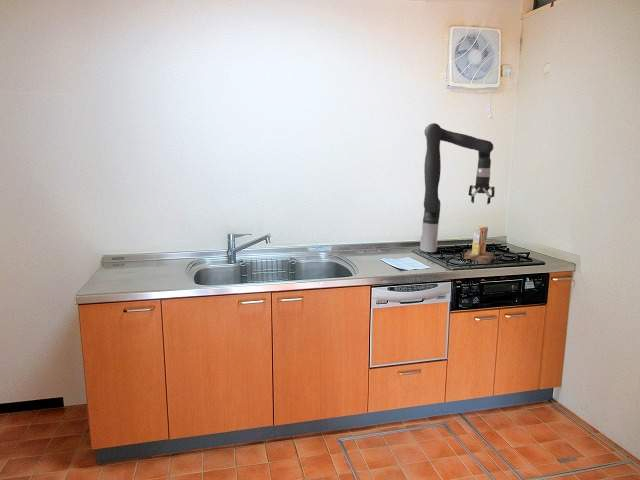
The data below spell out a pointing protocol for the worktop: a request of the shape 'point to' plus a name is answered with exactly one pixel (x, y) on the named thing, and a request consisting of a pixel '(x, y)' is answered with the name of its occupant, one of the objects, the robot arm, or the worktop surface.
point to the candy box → (479, 240)
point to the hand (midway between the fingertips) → (480, 203)
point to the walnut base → (479, 256)
